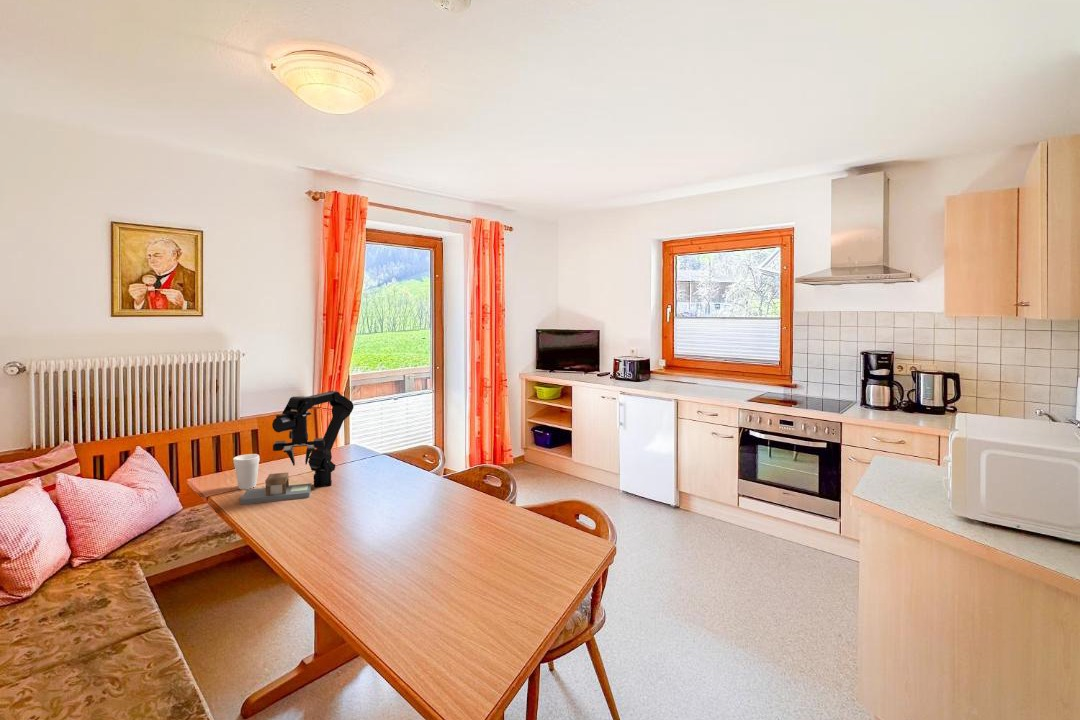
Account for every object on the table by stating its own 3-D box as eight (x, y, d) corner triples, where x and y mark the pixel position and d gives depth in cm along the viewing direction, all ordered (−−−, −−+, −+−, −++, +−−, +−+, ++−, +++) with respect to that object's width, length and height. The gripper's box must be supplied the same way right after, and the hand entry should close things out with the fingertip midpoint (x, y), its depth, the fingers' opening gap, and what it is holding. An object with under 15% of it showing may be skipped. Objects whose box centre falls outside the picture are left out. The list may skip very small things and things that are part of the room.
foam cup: (239, 492, 201) (238, 461, 200) (230, 487, 206) (229, 457, 205) (264, 486, 208) (263, 456, 207) (254, 481, 214) (253, 452, 213)
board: (311, 487, 207) (311, 482, 207) (309, 497, 196) (309, 492, 196) (246, 494, 198) (246, 489, 198) (240, 504, 187) (240, 499, 187)
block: (284, 493, 200) (284, 480, 200) (283, 497, 196) (282, 483, 195) (272, 494, 198) (271, 481, 198) (270, 498, 194) (270, 485, 194)
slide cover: (288, 485, 203) (288, 472, 202) (285, 493, 194) (285, 479, 193) (269, 487, 200) (269, 474, 200) (265, 495, 191) (265, 481, 191)
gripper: (325, 422, 209) (326, 457, 210) (276, 424, 202) (277, 461, 203) (323, 427, 198) (324, 464, 200) (272, 430, 192) (273, 469, 193)
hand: (300, 464), depth 199 cm, fingers open, 4 cm apart
